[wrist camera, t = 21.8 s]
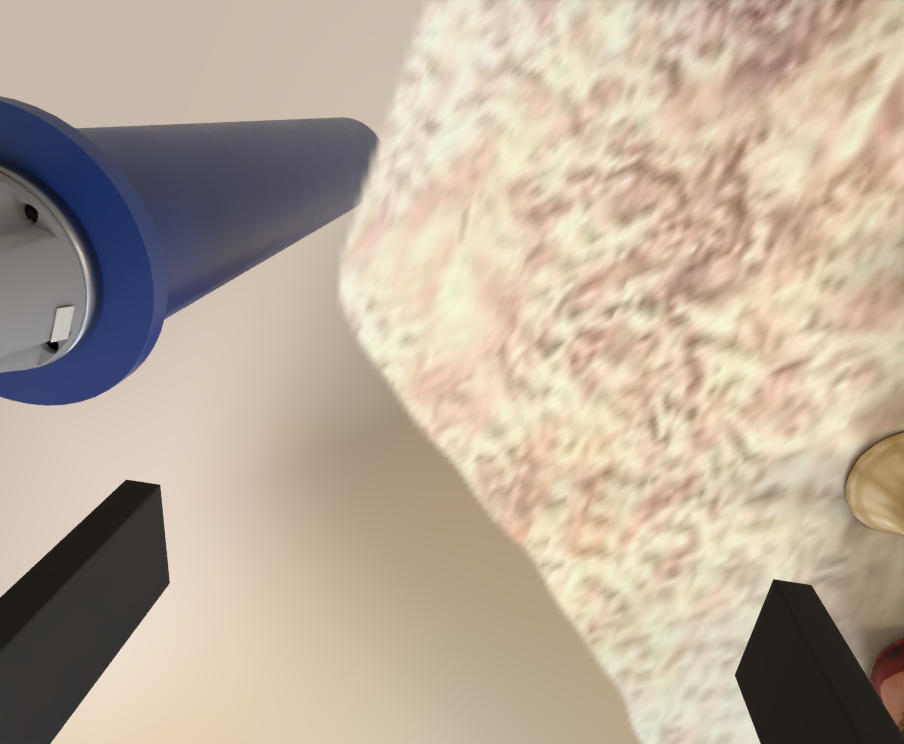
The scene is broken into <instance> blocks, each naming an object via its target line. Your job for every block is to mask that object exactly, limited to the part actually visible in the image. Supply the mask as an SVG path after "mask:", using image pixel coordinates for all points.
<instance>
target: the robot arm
mask: <svg viewBox="0 0 904 744" xmlns="http://www.w3.org/2000/svg"><path fill="white" fill-rule="evenodd" d="M102 300H103V282H102V274H101V268H100V265H99V261H98V257H97V254H96V252H95V249H94V246H93V244H92V242H91V240H90V238H89V236H88V234H87V232H86V230H85V228H84V227H83V225H82V224H81V222H80V221H79V219H78V218H77V216H76V215H75V214H74V212H73V211H72V210H71V208H70V207H69V206H68V205H67V204H66V203H65V202H64V201H63V199H62V198H61V197H59V196H58V195H57V194H56V193H55V192H54V191H53V190H52V189H51V188H50V187H48V186H47V185H46V184H45V183H44V182H42V181H41V180H39V179H38V178H36V177H35V176H33V175H32V174H30V173H28V172H27V171H25V170H23V169H21V168H19V167H17V166H15V165H13V164H10V163H7V162H5V161H2V160H0V372H9V371H18V370H26V369H33V368H38V367H41V366H44V365H47V364H49V363H52V362H54V361H56V360H57V359H59V358H61V357H63V356H65V355H67V354H69V353H70V352H72V351H74V350H75V349H77V348H78V347H79V346H80V345H81V344H83V342H84V341H85V340H86V339H87V338H88V337H89V335H90V334H91V333H92V331H93V329H94V327H95V325H96V324H97V321H98V318H99V316H100V312H101V307H102ZM161 500H162V499H161V489H160V485H157V484H151V483H144V482H138V481H130V480H126V481H125V482H123V483H122V484H121V485H120V486H119V487H118V488H117V489H116V490H115V491H114V492H113V493H112V494H111V495H109V496H108V497H107V498H106V499H105V500H104V501H103V502H102V503H101V504H100V505H99V506H98V507H97V508H96V509H94V510H93V511H92V512H91V513H90V514H89V515H88V516H87V517H86V518H85V519H84V520H83V521H82V522H81V523H80V524H78V525H77V527H75V528H74V529H73V530H72V531H71V532H70V533H69V534H68V535H67V536H66V537H65V538H64V539H62V540H61V541H60V542H59V543H58V544H57V545H56V546H55V547H54V548H53V549H52V550H51V551H50V552H48V553H47V554H46V555H45V556H44V557H43V558H42V559H41V560H40V561H39V562H38V563H37V564H36V565H35V566H34V567H32V568H31V569H30V570H29V572H27V573H26V574H25V575H24V576H23V577H22V578H21V579H20V580H19V581H18V582H17V583H16V584H14V585H13V586H12V587H11V588H10V589H9V590H8V591H7V592H6V593H5V594H4V595H3V596H1V597H0V744H50V743H51V742H52V740H53V739H54V738H55V736H56V735H57V734H58V733H59V731H60V730H61V729H62V727H63V726H64V724H65V723H66V722H67V720H68V719H69V718H70V717H71V715H72V714H73V712H74V711H75V710H76V708H77V707H78V706H79V704H80V703H81V702H82V700H83V699H84V698H85V696H86V695H87V694H88V692H89V691H90V689H91V688H92V687H93V686H94V684H95V683H96V682H97V680H98V679H99V678H100V676H101V675H102V673H103V672H104V671H105V669H106V668H107V667H108V665H109V664H110V663H111V661H112V660H113V659H114V657H115V656H116V655H117V653H118V652H119V651H120V649H121V648H122V647H123V645H124V644H125V643H126V641H127V640H128V638H129V637H130V636H131V634H132V633H133V632H134V630H135V629H136V628H137V626H138V625H139V624H140V622H141V621H142V620H143V618H144V617H145V616H146V614H147V613H148V612H149V610H150V609H151V607H152V606H153V605H154V604H155V602H156V601H157V600H158V598H159V597H160V596H161V594H162V593H163V591H164V590H165V589H166V587H167V586H168V584H169V583H170V582H169V571H168V561H167V551H166V540H165V530H164V521H163V509H162V501H161ZM735 677H736V679H737V682H738V685H739V687H740V690H741V693H742V695H743V698H744V701H745V703H746V706H747V708H748V711H749V714H750V716H751V719H752V722H753V724H754V727H755V730H756V732H757V735H758V738H759V740H760V743H761V744H904V736H903V735H902V733H901V732H900V730H899V728H898V727H897V725H896V723H895V722H894V720H893V718H892V717H891V715H890V713H889V712H888V710H887V709H886V707H885V705H884V704H883V702H882V700H881V699H880V697H879V695H878V694H877V692H876V691H875V689H874V687H873V686H872V684H871V682H870V681H869V679H868V677H867V676H866V674H865V672H864V671H863V669H862V668H861V666H860V664H859V663H858V661H857V659H856V658H855V656H854V654H853V653H852V651H851V649H850V648H849V646H848V645H847V643H846V641H845V640H844V638H843V636H842V635H841V633H840V631H839V630H838V628H837V626H836V625H835V623H834V622H833V620H832V618H831V617H830V615H829V613H828V612H827V610H826V608H825V607H824V605H823V604H822V602H821V600H820V599H819V597H818V595H817V594H816V592H815V590H814V589H813V587H812V585H807V584H800V583H794V582H787V581H781V580H774V579H773V582H772V584H771V587H770V589H769V592H768V594H767V597H766V599H765V602H764V604H763V607H762V609H761V612H760V614H759V617H758V619H757V622H756V624H755V627H754V629H753V631H752V634H751V636H750V639H749V641H748V644H747V646H746V649H745V651H744V654H743V656H742V659H741V661H740V664H739V666H738V669H737V671H736V674H735Z"/></svg>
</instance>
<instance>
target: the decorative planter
mask: <svg viewBox="0 0 904 744" xmlns="http://www.w3.org/2000/svg"><path fill="white" fill-rule="evenodd" d="M869 681H870V682H871V684H872V686H873V687H874V689H875V691H876V692H877V694H878V695H879V697H880V699H881V700H882V702H883V704H884V705H885V707H886V709H887V710H888V712H889V713H890V715H891V717H892V718H893V720H894V722H895V723H896V725H897V727H898V728H899V730H900V732H901V733H902V735H903V736H904V639H902V640H899V641H897V642H895V643H893V644H892V645H890V646H889V647H887V648H886V649H884V650H883V651H882V652H881V653H880V654H879V655H878V657H877V658H876V659H875V661H874V663H873V665H872V667H871V671H870V676H869Z"/></svg>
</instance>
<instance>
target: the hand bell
mask: <svg viewBox="0 0 904 744" xmlns="http://www.w3.org/2000/svg"><path fill="white" fill-rule="evenodd" d="M846 499H847V503H848V505H849V507H850V509H851V511H852V513H853V514H854V516H855V517H856V518H857V519H858V520H860V521H861V522H862V523H863V524H865V525H866V526H868V527H870V528H872V529H875V530H877V531H880V532H884V533H889V534H896V535H904V432H902V433H899V434H896V435H894V436H891V437H888V438H886V439H884V440H882V441H880V442H879V443H877V444H875V445H874V446H872V447H871V448H870V449H869V450H867V451H866V452H865V453H864V454H863V455H862V456H861V457H860V458H859V460H858V461H857V462H856V463H855V465H854V467H853V469H852V471H851V473H850V474H849V477H848V480H847V484H846Z"/></svg>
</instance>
